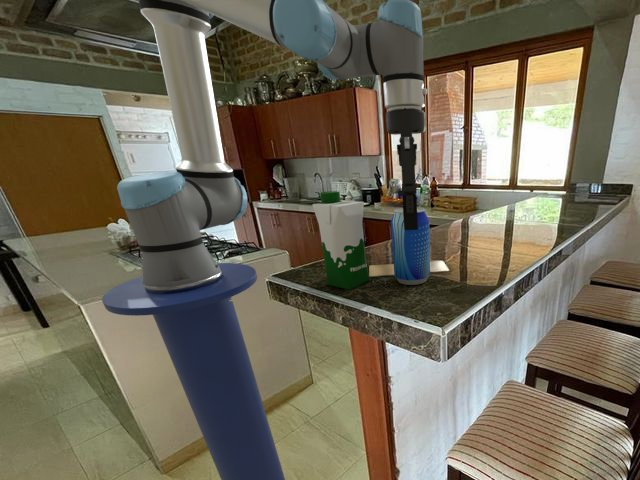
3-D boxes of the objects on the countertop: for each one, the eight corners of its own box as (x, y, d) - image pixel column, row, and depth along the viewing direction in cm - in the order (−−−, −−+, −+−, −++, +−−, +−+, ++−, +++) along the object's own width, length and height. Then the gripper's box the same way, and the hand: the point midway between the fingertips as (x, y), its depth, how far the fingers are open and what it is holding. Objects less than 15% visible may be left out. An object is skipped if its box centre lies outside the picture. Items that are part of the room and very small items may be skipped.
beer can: (408, 272, 84) (406, 206, 77) (437, 277, 80) (436, 208, 73) (387, 282, 78) (382, 211, 71) (416, 288, 74) (413, 213, 67)
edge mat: (369, 277, 81) (369, 276, 81) (369, 266, 89) (369, 265, 89) (449, 271, 84) (449, 270, 84) (442, 261, 92) (442, 260, 92)
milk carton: (347, 274, 84) (336, 190, 75) (375, 280, 79) (367, 191, 71) (321, 285, 77) (306, 194, 69) (350, 292, 73) (338, 195, 64)
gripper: (428, 99, 52) (431, 234, 62) (422, 116, 75) (425, 213, 84) (380, 101, 52) (391, 236, 61) (388, 117, 75) (395, 215, 84)
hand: (410, 223), depth 73 cm, fingers open, 13 cm apart
